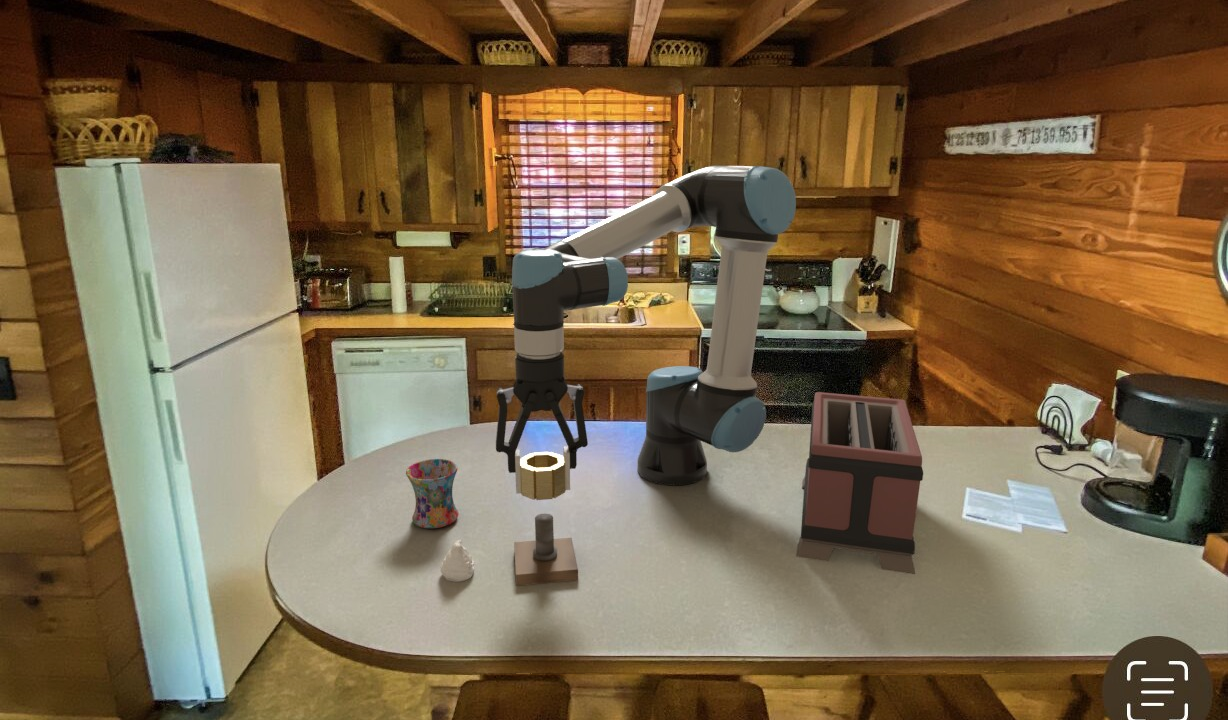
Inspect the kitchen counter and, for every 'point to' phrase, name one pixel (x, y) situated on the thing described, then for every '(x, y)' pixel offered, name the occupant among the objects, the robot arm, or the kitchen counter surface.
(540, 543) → the shaft block
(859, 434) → the toaster
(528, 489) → the ring
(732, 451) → the robot arm
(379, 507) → the kitchen counter surface
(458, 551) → the garlic bulb
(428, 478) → the mug
